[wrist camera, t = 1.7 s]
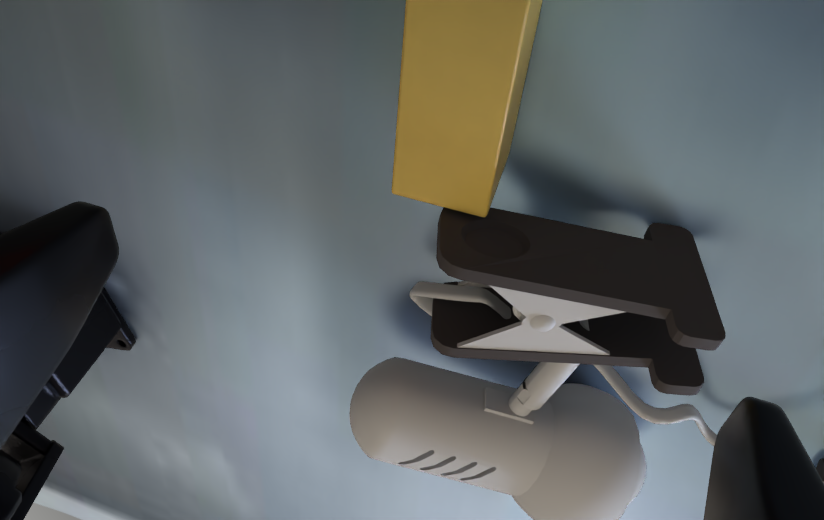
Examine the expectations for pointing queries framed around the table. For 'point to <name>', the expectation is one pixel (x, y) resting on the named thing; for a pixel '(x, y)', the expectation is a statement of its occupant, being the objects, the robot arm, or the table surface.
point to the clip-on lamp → (545, 361)
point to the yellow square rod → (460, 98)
